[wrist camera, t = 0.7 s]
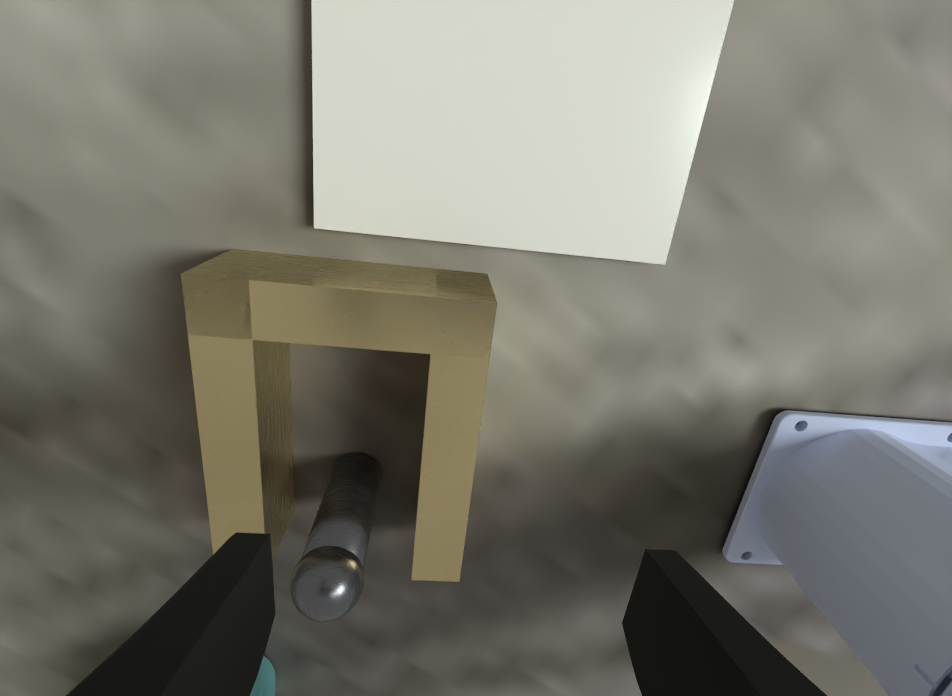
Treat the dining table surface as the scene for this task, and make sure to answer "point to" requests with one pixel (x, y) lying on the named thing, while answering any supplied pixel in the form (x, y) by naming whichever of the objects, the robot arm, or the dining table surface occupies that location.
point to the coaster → (511, 119)
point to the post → (338, 541)
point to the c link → (340, 325)
